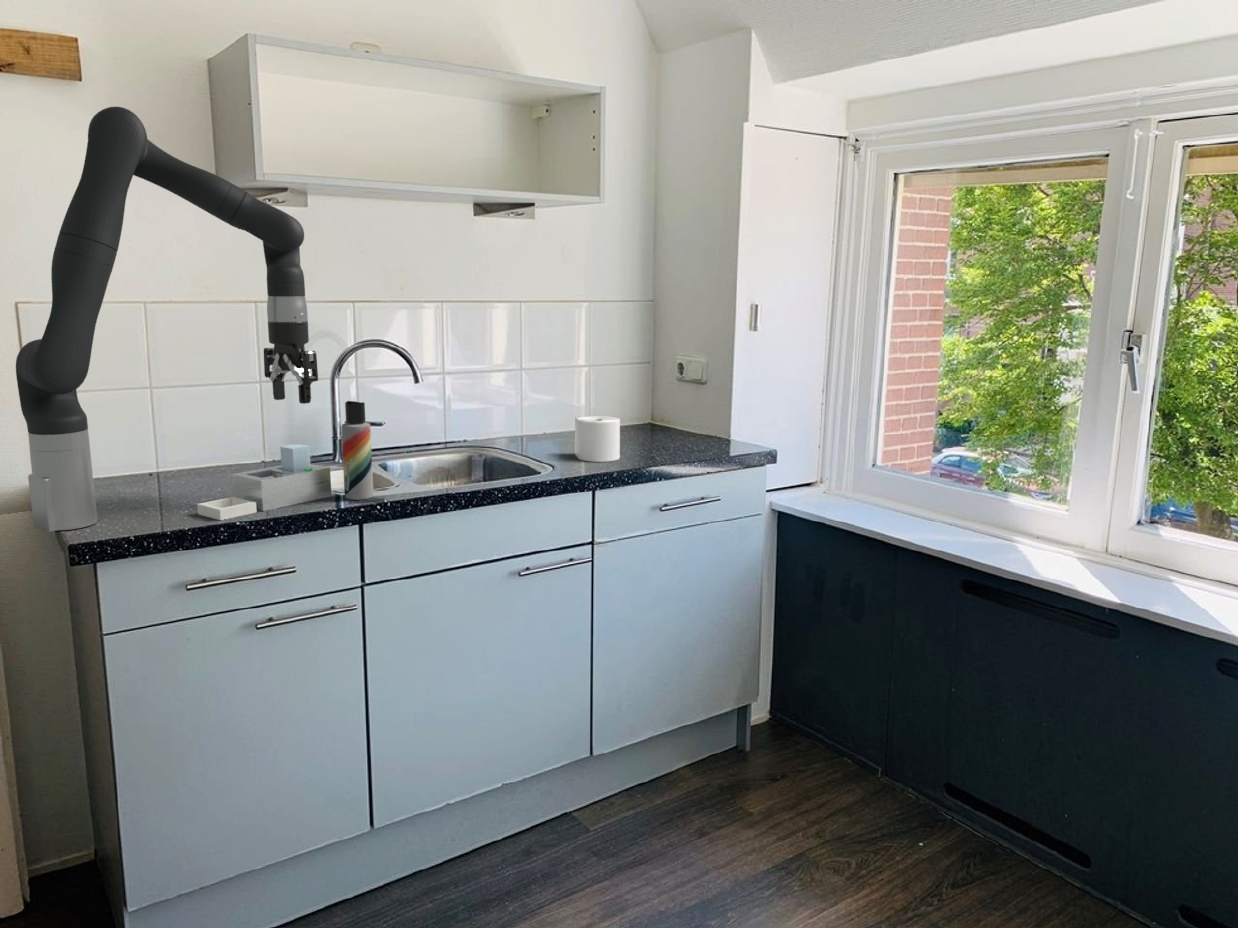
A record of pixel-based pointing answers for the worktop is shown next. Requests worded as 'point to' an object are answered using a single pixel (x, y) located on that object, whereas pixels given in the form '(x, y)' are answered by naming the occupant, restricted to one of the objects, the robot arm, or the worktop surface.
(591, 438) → the toilet tissue
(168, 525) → the worktop surface
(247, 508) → the white open box
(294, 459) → the light blue block
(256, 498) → the two-compartment grey tray
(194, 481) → the worktop surface
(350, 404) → the lotion bottle
